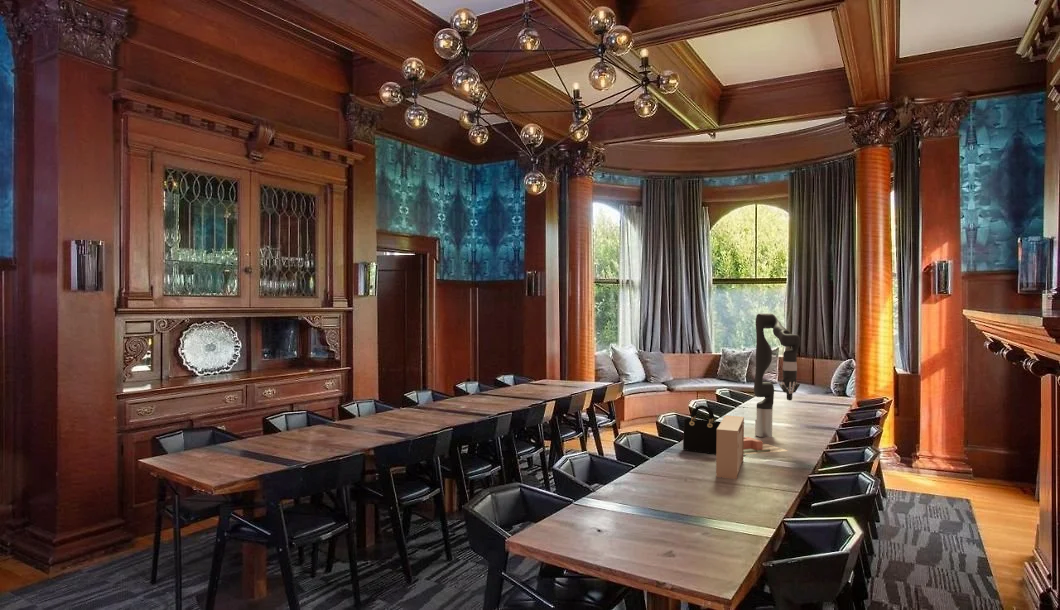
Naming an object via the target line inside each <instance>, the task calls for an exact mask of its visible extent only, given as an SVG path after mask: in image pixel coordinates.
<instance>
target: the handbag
mask: <svg viewBox="0 0 1060 610" xmlns="http://www.w3.org/2000/svg"><path fill="white" fill-rule="evenodd" d="M699 410H705V411H706V412H707V413H708V419H699V418H697V412H698V411H699ZM721 422H722V421H717V420H715V415H714V412H713V410H712V409H711V408H710V407H708V406H706V405H698V406H696V407H695V408H693V410H692V412H691V414H690V418H688V417H686V418H684V421H683V438H682V447H683V448H682V449H683V451H690V452H697V453H705V454H712V455H716V442H717V428H718V426H719V425H720V423H721Z"/></svg>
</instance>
